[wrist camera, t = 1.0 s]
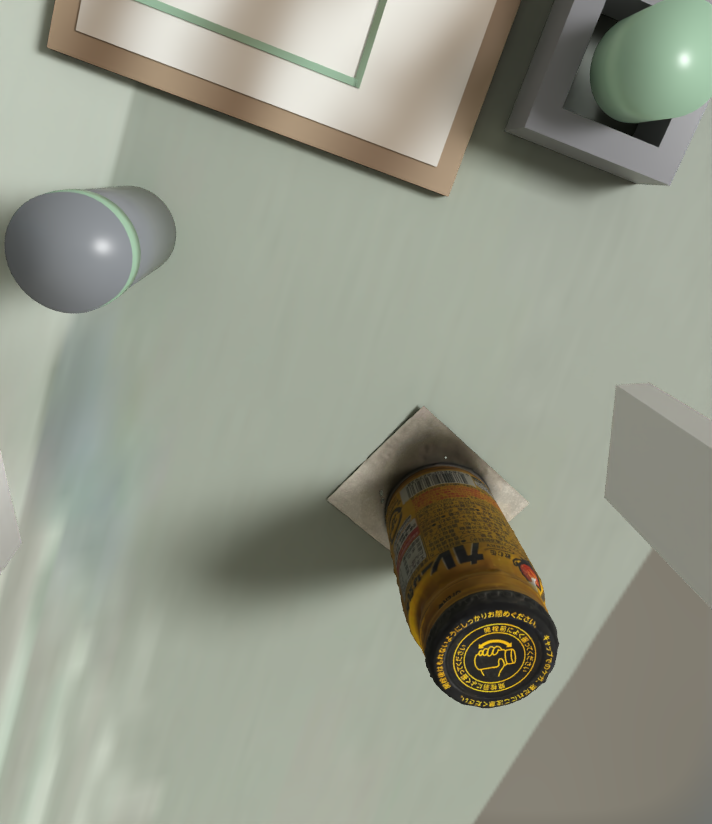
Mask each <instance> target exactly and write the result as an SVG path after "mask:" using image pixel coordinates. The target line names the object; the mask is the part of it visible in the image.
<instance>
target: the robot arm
mask: <svg viewBox="0 0 712 824" xmlns="http://www.w3.org/2000/svg"><path fill="white" fill-rule="evenodd" d="M604 498H605V499H606V500H607V501H608V502H609V503H610V504H611V505H612V506H613V507H614V508H615V509H616V510H617V511H618V512H619V513H620V514H621V515H622V516H623V517H624V518H625V519H626V520H627V521H628V523H629V524H630V525H631V526H632V527H633V528H634V529H635V530H636V531H637V532H638V533H639V534H640V535H641V536H642V537H643V538H644V539H645V540H646V541H647V542H648V543H649V544H650V545H651V547H652V548H653V549H654V550H655V551H656V552H657V553H658V554H659V555H660V556H661V557H662V558H663V559H664V560H665V561H666V562H667V563H668V564H669V565H670V566H671V567H672V568H673V569H674V570H675V571H676V572H677V574H678V575H679V576H680V577H681V578H682V579H683V580H684V581H685V582H686V583H687V584H688V585H689V586H690V587H691V588H692V589H693V590H694V591H695V592H696V593H697V594H698V596H699V597H700V598H701V599H702V600H703V601H704V602H705V603H706V604H707V605H708V606H709V607H710V608H711V609H712V420H711V419H709V418H708V417H706V416H704V415H703V414H701V413H699V412H698V411H696V410H694V409H693V408H691V407H689V406H688V405H686V404H684V403H683V402H681V401H679V400H678V399H676V398H674V397H673V396H671V395H669V394H668V393H666V392H664V391H663V390H661V389H659V388H658V387H656V386H654V385H653V384H651V383H637V384H621V385H616V390H615V400H614V409H613V419H612V428H611V438H610V447H609V457H608V466H607V476H606V485H605V495H604ZM21 544H22V540H21V536H20V532H19V528H18V523H17V519H16V515H15V511H14V506H13V502H12V498H11V493H10V489H9V485H8V481H7V476H6V472H5V468H4V464H3V459H2V455H1V451H0V574H1V573H2V571H3V570H4V568H5V567H6V565H7V564H8V562H9V561H10V560H11V558H12V557H13V555H14V554H15V552H16V551H17V549H18V548H19V547H20V545H21Z"/></svg>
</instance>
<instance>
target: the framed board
mask: <svg viewBox="0 0 712 824" xmlns="http://www.w3.org/2000/svg"><path fill="white" fill-rule="evenodd" d="M520 2H521V0H55V4H54V10H53V15H52V21H51V26H50V32H49V37H48V43H47V47H48V48H50V49H52V50H54V51H57V52H60V53H63V54H65V55H68V56H71V57H73V58H76V59H79V60H81V61H84V62H87V63H89V64H92V65H95V66H97V67H100V68H103V69H106V70H108V71H111V72H114V73H116V74H119V75H122V76H124V77H127V78H130V79H132V80H135V81H138V82H140V83H143V84H146V85H149V86H151V87H154V88H157V89H159V90H162V91H165V92H167V93H170V94H173V95H175V96H178V97H181V98H184V99H186V100H189V101H192V102H194V103H197V104H200V105H202V106H205V107H208V108H210V109H213V110H216V111H218V112H221V113H224V114H227V115H229V116H232V117H235V118H237V119H240V120H243V121H245V122H248V123H251V124H253V125H256V126H259V127H261V128H264V129H267V130H270V131H272V132H275V133H278V134H280V135H283V136H286V137H288V138H291V139H294V140H296V141H299V142H302V143H304V144H307V145H310V146H313V147H315V148H318V149H321V150H323V151H326V152H329V153H331V154H334V155H337V156H339V157H342V158H345V159H347V160H350V161H353V162H356V163H358V164H361V165H364V166H366V167H369V168H372V169H374V170H377V171H380V172H382V173H385V174H388V175H391V176H393V177H396V178H399V179H401V180H404V181H407V182H409V183H412V184H415V185H417V186H420V187H423V188H425V189H428V190H431V191H434V192H436V193H439V194H442V195H444V196H449V194H450V191H451V188H452V186H453V183H454V180H455V178H456V175H457V172H458V169H459V167H460V164H461V161H462V159H463V156H464V153H465V151H466V148H467V145H468V142H469V140H470V137H471V134H472V132H473V129H474V126H475V124H476V121H477V118H478V115H479V113H480V110H481V107H482V105H483V102H484V99H485V97H486V94H487V91H488V89H489V86H490V83H491V80H492V78H493V75H494V72H495V70H496V67H497V64H498V62H499V59H500V56H501V53H502V51H503V48H504V45H505V43H506V40H507V37H508V35H509V32H510V29H511V26H512V24H513V21H514V18H515V16H516V13H517V10H518V8H519V5H520Z"/></svg>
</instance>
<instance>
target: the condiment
mask: <svg viewBox="0 0 712 824" xmlns="http://www.w3.org/2000/svg"><path fill="white" fill-rule="evenodd" d="M445 456H446V457H447V458H446V459H445ZM381 490H382V491H383V496H382V497H381V496H380V493H379V492H380V491H381ZM381 498H384V502H383V503H381ZM327 500H328V501H329V502H330V503H332V504H333V505H334V506H335V507H336V508H337V509H339V510H340V511H341V512H343V513H344V514H345V515H346V516H348V517H349V518H350V519H351V520H352V521H353V522H354V523H356V524H357V525H359V526H360V527H361V528H362V529H363V530H365V531H366V532H367V533H368V534H369V535H371V536H372V537H373V538H374V539H376V540H377V541H378V542H380V543H381V544H382V545H384V546H385V547H386V548H387V549H389V550H390V552H391V557H392V559H393V565H394V573H395V575H396V577H397V584H398V586H399V591H400V595H401V602H402V606H403V611H404V614H405V617H406V622H407V623H408V625H409V628H410V632H411V634H412V636H413V637H414V639H415V641H416V642H417V644H418V645H419V646H420V648H421V649H422V651H423V653H424V655H425V657H426V659H425V662H426V667H427V668H428V671H429V673H430V677H432V678H433V681H434V682H435V684H436V685H437V686H438V687H439V688H440V689H441V690H442V691H443V692H445V693H446V694H447V695H448V696H449V697H451V698H453V699H454V700H456V701H457V702H460V703H461V704H464V705H471V706H477V707H480V708H493V707H499V706H503V705H507V704H511V703H513V702H516V701H518V700H521V699H522V698H525V697H526V696H528V695H529V694H530V693H531V692H533V691H534V690H536V689H537V688H538V687H539V686H540V685H541V684H542V683H545V682H546V679H547V677H548V675H549V673H550V672H551V671H552V669H553V667H554V665H555V660H556V656H557V649H558V646H559V642H558V638H557V630H556V627H555V624H554V622H553V620H552V619H551V617H550V615H549V614H548V611H547V609H546V606H545V595H544V590H543V586H542V582H541V579H540V577H539V576H538V574H537V572H536V571H535V569H534V568H533V565H532V564H531V562H530V561H529V559H528V557H527V555H526V553H525V551H524V549H523V548H522V546H521V544H520V543H519V541H518V539H517V537H516V536H515V534H514V531H513V530H512V529H511V527H510V525H509V523H508V522H510V521H511V520H512V519H513V518H514V517H515V516H516V515H517V514H518V513H520V512H521V511H522V510H523V509H524V508H525V507H526V506H527V505H528V504H529V502H528V501H527V500H526V499H525V498H524V497H522V496H521V495H520V494H519V493H518V492H517V491H516V490H515V489H514V488H513V487H512V486H511V485H510V484H509V483H508V482H506V481H505V480H504V479H503V478H502V477H501V476H500V475H499V474H498V473H497V472H496V471H495V470H493V469H492V468H491V467H490V466H489V465H488V464H487V463H486V462H485V461H484V460H482V459H481V458H480V457H479V456H478V455H477V454H476V453H475V452H474V451H472V450H471V449H470V448H469V447H468V446H467V445H466V444H465V443H464V442H463V441H462V440H461V439H459V438H458V437H457V436H456V435H455V434H454V433H453V432H452V431H451V430H450V429H449V428H448V427H446V426H445V425H444V424H443V423H442V422H441V421H440V420H438V419H437V418H436V417H435V416H434V415H433V414H432V413H431V412H430V411H429V410H428V409H427V408H426V407H425V406H423V407H422V408H421V409H420V410H419V411H418V412H417V413H416V414H415V415H414V416H413V417H411V418H410V419H409V420H408V421H407V422H406V423H405V424H404V425H402V426H401V427H400V428H399V429H398V430H397V431H396V432H395V433H394V434H393V435H392V436H391V437H390V438H389V439H388V440H387V441H386V442H384V444H383V445H382V446H380V447H379V448H378V449H377V450H376V451H375V452H374V453H373V454H372V455H371V456H370V457H369V458H368V459H367V460H366V461H364V463H363V464H362V465H361V466H360V467H359V468H358V469H357V470H356V471H355V472H354V473H353V474H352V475H351V476H350V477H349V478H348V479H347V480H346V481H345V482H344V483H343V484H342V485H341V486H340V487H339V488H338V489H337V490H336V491H335V492H334V493H333V494H332V495H331V496H330V497H329V498H328V499H327Z"/></svg>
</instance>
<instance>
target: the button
mask: <svg viewBox="0 0 712 824" xmlns="http://www.w3.org/2000/svg"><path fill="white" fill-rule="evenodd" d="M590 83H591V89H592V93H593V95H594V98H595V100H596V102H597V104H598V105H599V107H600V108H601V109H602V110H603V111H604V112H605V113H606V114H607V115H608V116H610V117H611V118H613V119H615V120H617V121H620V122H624V123H640V122H648V121H655V120H662V119H669V118H677V117H681V116H685V115H687V114H689V113H692V112H693V111H695V110H697V109H699V108H700V107H701V106H703V105H704V104H705V103H706V102H707V101H708V100H709V99H710V98H711V97H712V4H710V3H709V2H707V1H705V0H663V1H661V2H659V3H656V4H654V5H652V6H650V7H648V8H646V9H644V10H641V11H639V12H637V13H635V14H633V15H631V16H629V17H626V18H624V19H622V20H621V21H619V22H617V23H616V24H615V25H614V26H612V27H611V28H610V29H609V30H608V31H607V32H606V34H605V35H604V36H603V37H602V39H601V40H600V42H599V44H598V46H597V48H596V50H595V52H594V55H593V58H592V62H591V68H590Z"/></svg>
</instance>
